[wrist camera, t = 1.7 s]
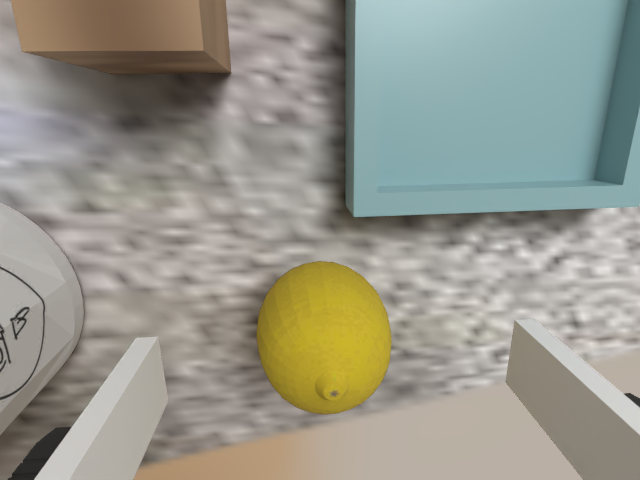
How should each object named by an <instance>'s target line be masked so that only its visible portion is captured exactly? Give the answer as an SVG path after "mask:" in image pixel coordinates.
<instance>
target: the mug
mask: <svg viewBox="0 0 640 480" xmlns="http://www.w3.org/2000/svg"><path fill="white" fill-rule="evenodd" d="M83 317H84V308H83V298H82V293H81V288H80V285H79V282H78V280H77V277H76V274H75V272H74V270H73V268H72V266H71V264H70V263H69V261H68V259H67V258H66V256H65V255H64V254H63V252H62V251H61V249H60V248H59V247H58V246H57V245H56V243H55V242H54V241H53V240H52V239H51V238H50V237H49V236H48V235H47V234H46V233H45V232H44V231H43V230H42V229H41V228H40V227H39V226H37V225H36V224H35V223H33V222H32V221H31V220H29V219H28V218H27V217H25V216H24V215H23V214H21V213H19V212H17V211H16V210H14V209H12V208H11V207H9V206H7V205H5V204H2V203H0V435H1V434H2V433H3V432H4V431H5V429H6V428H7V427H8V426H9V425H10V424H11V423H12V422H13V421H14V419H15V418H16V417H17V416H18V415H19V414H20V413H21V412H22V411H23V409H24V408H25V407H26V406H27V405H28V404H29V403H30V402H31V401H32V400H33V398H34V397H35V396H36V395H37V394H38V393H39V392H40V391H41V390H42V389H43V387H44V386H45V385H46V384H47V383H48V382H49V381H50V380H51V379H52V377H53V376H54V375H55V374H56V373H57V372H58V371H59V370H60V368H61V367H62V366H63V364H64V363H65V362H66V361H67V359H68V358H69V356H70V355H71V353H72V352H73V350H74V349H75V347H76V345H77V342H78V340H79V338H80V334H81V330H82V326H83Z"/></svg>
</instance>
